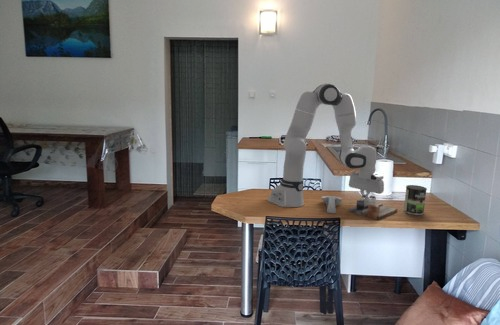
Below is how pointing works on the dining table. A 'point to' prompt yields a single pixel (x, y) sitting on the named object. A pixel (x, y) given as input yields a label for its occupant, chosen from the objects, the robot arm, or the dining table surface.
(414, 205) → the coffee can
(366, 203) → the latch bar
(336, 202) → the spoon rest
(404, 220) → the dining table surface
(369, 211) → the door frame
